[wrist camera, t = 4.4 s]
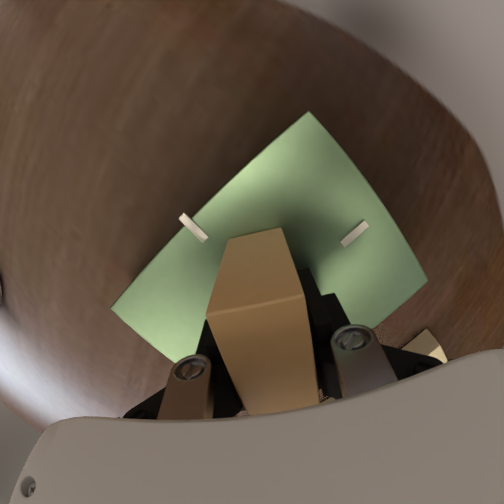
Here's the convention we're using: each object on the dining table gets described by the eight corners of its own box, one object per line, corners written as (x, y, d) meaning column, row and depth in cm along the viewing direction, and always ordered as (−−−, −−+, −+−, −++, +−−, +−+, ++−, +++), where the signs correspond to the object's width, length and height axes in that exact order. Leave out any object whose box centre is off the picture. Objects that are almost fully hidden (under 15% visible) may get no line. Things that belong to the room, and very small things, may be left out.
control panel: (292, 114, 12) (303, 102, 9) (405, 263, 14) (432, 286, 12) (126, 279, 15) (103, 305, 12) (249, 379, 18) (248, 414, 15)
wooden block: (227, 238, 11) (201, 320, 6) (281, 226, 11) (306, 299, 5) (262, 358, 13) (265, 456, 8) (305, 350, 13) (325, 446, 7)
